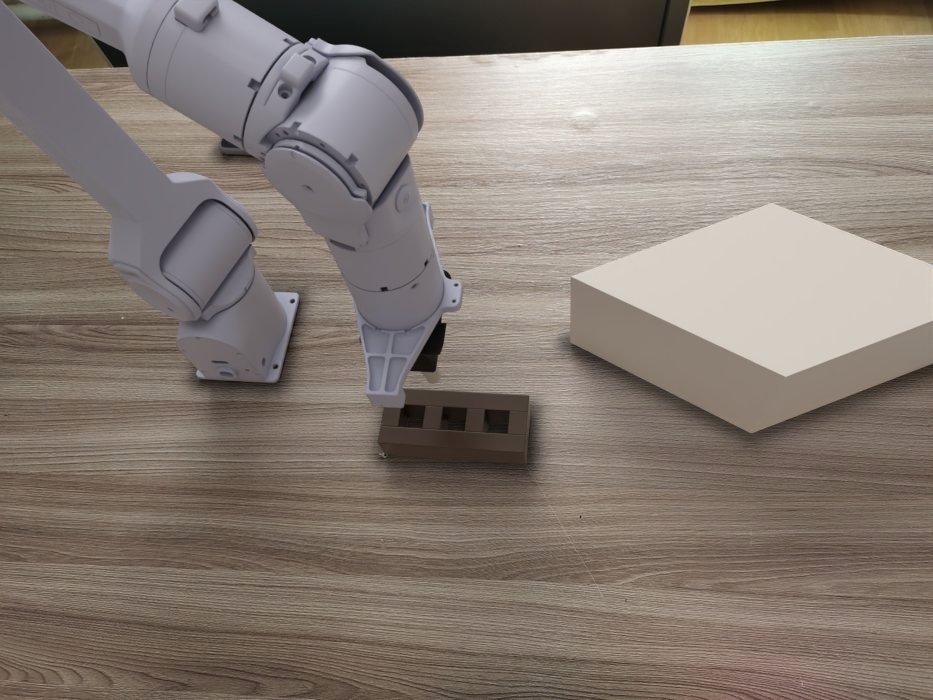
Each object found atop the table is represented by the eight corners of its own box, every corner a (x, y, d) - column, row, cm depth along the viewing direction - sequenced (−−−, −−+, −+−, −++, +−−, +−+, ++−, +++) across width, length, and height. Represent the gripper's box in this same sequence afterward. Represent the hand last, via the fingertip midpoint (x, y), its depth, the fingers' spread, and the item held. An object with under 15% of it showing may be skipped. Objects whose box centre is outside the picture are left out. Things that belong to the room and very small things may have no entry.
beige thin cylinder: (441, 386, 58) (411, 339, 51) (427, 386, 58) (395, 340, 52) (443, 372, 58) (413, 325, 52) (429, 372, 59) (398, 325, 52)
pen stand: (526, 465, 60) (524, 452, 58) (385, 455, 62) (377, 442, 60) (530, 409, 63) (529, 394, 60) (394, 401, 64) (387, 387, 62)
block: (574, 272, 69) (576, 198, 59) (922, 284, 64) (984, 207, 54) (564, 420, 62) (564, 364, 52) (953, 447, 57) (1029, 390, 48)
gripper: (435, 364, 39) (466, 452, 51) (465, 156, 46) (486, 277, 57) (309, 358, 40) (368, 445, 52) (356, 156, 47) (399, 275, 59)
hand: (424, 357), depth 55 cm, fingers closed on beige thin cylinder, 1 cm apart
